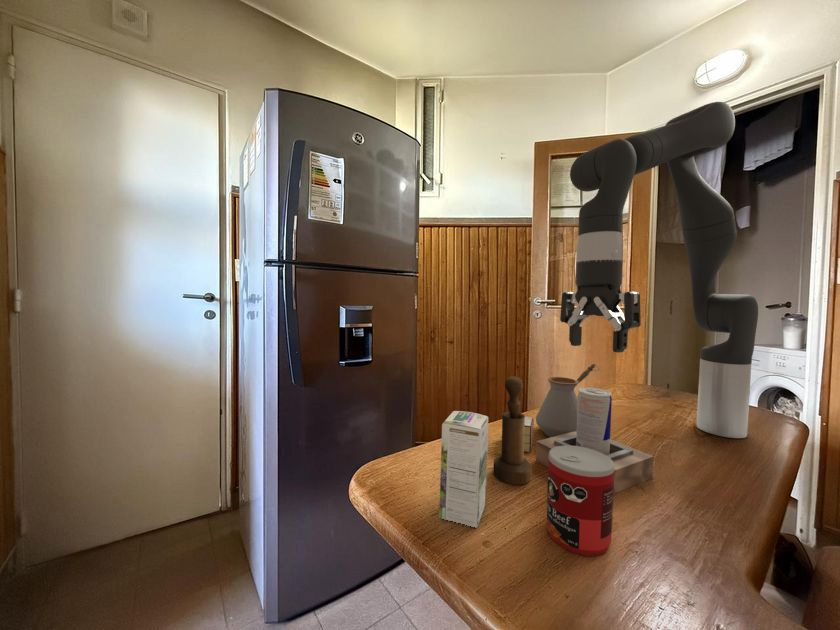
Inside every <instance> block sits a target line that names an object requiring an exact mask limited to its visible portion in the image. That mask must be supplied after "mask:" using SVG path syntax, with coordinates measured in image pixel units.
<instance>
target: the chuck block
mask: <svg viewBox="0 0 840 630" xmlns="http://www.w3.org/2000/svg"><path fill="white" fill-rule="evenodd" d="M576 436H577V431H574V432H570V433H566V434H562V435H558V436H555V437H548V438H543V439H540V440H536V443H535V444H536V450H535V453H536V454H535V462H537V463H538V464H541V465H542V466H544V467H545V468H547V469H548V456H549V451H550V450H551V449H552V448H554V447H557V446H566V445H570V446H576ZM606 456H608V457H609V458H610V459H611V460H612V461H613V463H614V494H613V495H616V494H618V493H619V492H622V491H624V490H627V489H629V488H632V487H634V486H637V485H639V484H641V483H644V482H647V481H649V480H652V479H653V474H654V455H652V454H649V453H647V452H643V451H641V450H639V449H636V448H633V447H631V446H628V445H626V444H623V443H621V442H618V441H616V440H613V439H611V438H610V454H609V455H606Z"/></svg>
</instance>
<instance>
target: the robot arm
mask: <svg viewBox="0 0 840 630" xmlns="http://www.w3.org/2000/svg"><path fill="white" fill-rule="evenodd" d="M734 113H735V112H734V110H733V109H732V107H731V106H730V105H729V104H728V103H726V102H724V101H714V102H713V101H712V102H709V103H707V104H703V105H701V106H699V107H697V108H694V109H692V110H690V111H686V112H684V113H683V114H680V115H678V116H675V117H674V118H671V119H670V120H668V121H667V122H666V124H665V125H662V126H660V127H655V128H651V129H649V130H645V131H642V132H640V133H636V134H632V135H630V136H627V137H625V138H617V139H614V140H610V141H608V142H605V143H603V144H600V145H599V146H597V147H595V148H591V149H590V150H587V151H585V152H583V153H582V154H580V155H579V156H578V157H576V159H575V160H574V161H573V163H572V165H571V166H570V170H569V179H570V181H571V184H572V185H573V186H574V187H575V188H576V189H577V190H579V191H582V192H585V193H590V192H594V191H597V192H596V194H595V196H594V197H593V198H591V199H590V200H589V201H587V202H585V203H584V204H583V205H582V206H581V207H580V209H579V211H578V231H577V232H578V233H577V235H578V236H577V244H576V252H575V281H574V282H575V286H576V287H577V290H576V292H572V291H570V292H569V291H567V292H562V294H561V305H560V306H561V307H560V318H559V321H560V322H562V323H564V324H567V325H568V326H569V329H568V333H569V335H568V341H569V343H570V345H571V346H573V347H580V346H582V336H583V335H582V332H583V331H582V330H583V327H582V326H581V325H582V323H583V322H584V321H585V320H586V319H587V318H588V317H590V316H596V317H604V318H605V319H606V320H607V321H608V322H609V323H610V324H611V326H612V328H614V330H613V333H612V334H613V335H612V352H613V353H618V354H619V353H623V352H625V350H626V349H627V348H628V340H629V339H628V337H629V335H628V334H629V333H628V332H629V331H630V330H631V329H635V328H639V327H641V325H642V324H641V322H642V320H641V294H640V292H639V291H625V292H623V293H622V290H621V285H622V283H623V263H624V262H623V261H624V259H623V257H624V240H623V214H624V208H625V204H626V203H627V202H626V201H627V198H628V196H629V192H630V189H631V186H632V183H633V181H634V177H635V176H636V175H639V174H642V173H644V172H647V171H649V170H652V169H653V168H656V167H659V166H660V165H663V164H665V163H667V166H668V170H669V174H670V176H671V181H672V184H673V187H674V192H675V195H676V200H677V206H678V211H679V212H678V213H679V218H680V224H681V225H680V226H681V231H682V238H683V242H684V247H685V250H686V255H687V256H686V257H687V262H688V266H689V267H688V268H689V273H690V274H689V275H690V281H691V298H692V299H691V300H692V311H693V313H692V314H693V317H694V321H695V324H696V326H697V327H698V328H699V329H700V330H701V331H706V332H713V333H723V334H724V333H726V334H727V333H728V334H729V336H728V338H727V340H725V341H724V342H722V343H718V344H714V345H706V346H703V347H702V348H701V349H700V354H699V355H700V356H699V357H700V359H699V373H698V375H699V376H698V395H697V407H696V408H697V410H696V411H697V412H696V427H697V428H698V429H699V430H701V431H703V432H706V433H708V434H711V435H715V436H719V437H724V438H730V439H745V438H746V437H747V436H748V425H749V413H750V412H749V408H750V397H751V396H750V394H751V393H750V391H751V376H752V375H751V374H752V360H753V354H754V350H755V344H756V343H755V340H756V333H757V327H758V321H759V320H758V319H759V306H758V301H757V299H756V298H755V297H754V296H753V295H752V294H743V293H742V294H740V293H739V294H738V293H737V294H736V293H735V294H734V293H728V294H727V293H720V294H718V293H717V292H716V287H715V284H716V277H717V275H718V272H719V269H720V268H721V266H722V265H723V263H724V262H725V260H726V259H727V258H728V257H729V255H730V253H731V252H732V250H733V248H734V246H735V244H736V241H737V239H738V236H737V235H738V232H737V225H736V218H735V212H734V208H733V207H732V204H730V203H729V202H728V200H726V199H725V198H724V197H723V196H722V195H721V193H719V192H717V191H716V190H715V189H714V188H713V187H712V186H710V185H709V184H708V183H707V182H706V180H705V179H704V178H703V177H702V176H701V174H700V172H699V169H698V166H697V164H696V160H695V157H697V156H699V155H703V154H706V153H709V152H713V151H715V150H717V149H719V148H721V147H723V146H724V145H726V144H727V143H728V142H729V141H730V140H731V138H732V137H733V135H734V132H735V127H736V118H735V114H734ZM576 302H577V306H576V307H575V304H576ZM620 303H622V304H623V306H624V307H623V309H624V311H622V309H621V308H620V306H619V304H620Z"/></svg>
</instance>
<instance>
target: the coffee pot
mask: <svg viewBox="0 0 840 630" xmlns="http://www.w3.org/2000/svg"><path fill="white" fill-rule="evenodd" d="M595 367H597V368H598V369H597V370H595V369H594V368H595ZM599 369H600V366H598V365H597V364H595V363H593V364H591V365H590V366H588V367H587V369H586V370H583V372H582V373H581V375H579V377H578V378H577V379H573V378H570V377H562V376H552V377H548V379H547V381H548V382H549V385H550V388H549V391H548V392H547V394H546V397H544V400H543V402H542V405H540V408H539V411H538V412H537V413H536V417H535V422H536V425H537V426H538V427H539V429H540V430H541V431H542V432H543V433H544V435H546V436H548V438H551V437H555V436H558V435H562V434H566V433H570V432H574V431H577V408H578V395H577V394H576V391H575V388H576V387H577V385H579V384H580V383H581V382H582V381H584V379H586V378H587V377H588V376H589V374H590V372H593V371H594V372H599Z"/></svg>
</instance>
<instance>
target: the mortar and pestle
mask: <svg viewBox="0 0 840 630" xmlns="http://www.w3.org/2000/svg"><path fill="white" fill-rule="evenodd" d="M504 386H505V389H506V390H507V393H508V394H509V400H507V407H508V411H505V412H503V413H502V417H501V418H502V421H501V425H502V426H501V453H500V454H499V455H498V456H496V457H495V458H494V459H493V469H492V471H493V472H492V473H493V475H494V477H495V478H497V480H499V481H501V482H503V483H506V484H510V485H518V486H519V485H525V484H528V483H529V482H531V480H532V465H531V463H530V462H529V461H528V460H527V459H526V458H525V452H524V426H525V417H526V416H525V414H523V413H521V412H519V411H520V408H521V404H522V403H521V401H520V400H519V395H520V393H521V392H522V391H523V388H524V383H523V380H522V379H521V378H520V377H518V376H513V375H512V376H509V377H508V378H507V379H506V380H505V385H504Z"/></svg>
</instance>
